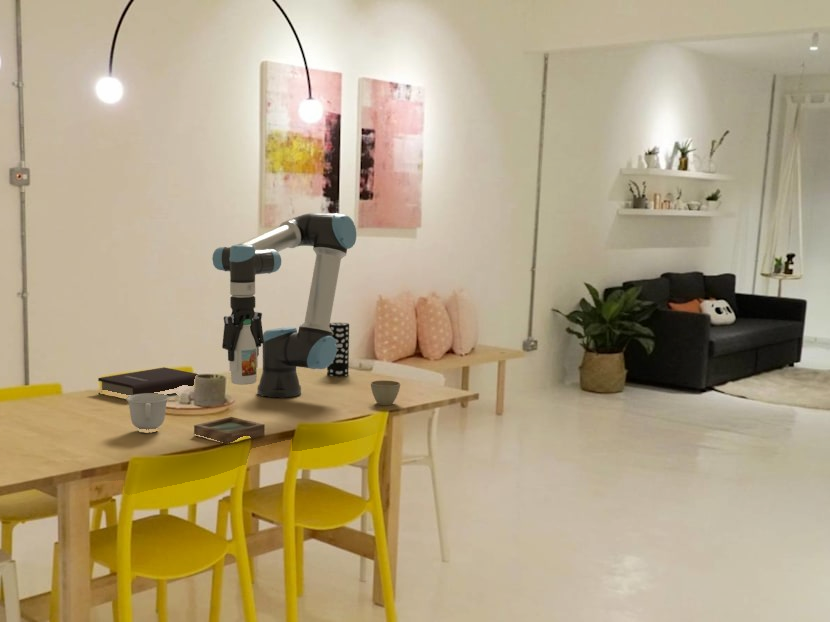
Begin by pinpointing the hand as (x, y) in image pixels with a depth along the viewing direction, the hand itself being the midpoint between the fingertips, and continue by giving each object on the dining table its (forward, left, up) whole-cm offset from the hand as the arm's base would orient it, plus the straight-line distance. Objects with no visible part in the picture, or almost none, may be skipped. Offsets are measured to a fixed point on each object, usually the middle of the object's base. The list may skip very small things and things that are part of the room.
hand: (243, 369), depth 288 cm
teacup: (-7, -31, -16) cm, 35 cm away
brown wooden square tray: (+13, -18, -15) cm, 27 cm away
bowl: (+19, +46, -16) cm, 53 cm away
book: (-52, +5, -16) cm, 55 cm away
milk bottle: (0, 0, -4) cm, 4 cm away
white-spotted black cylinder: (-27, +74, -16) cm, 81 cm away
